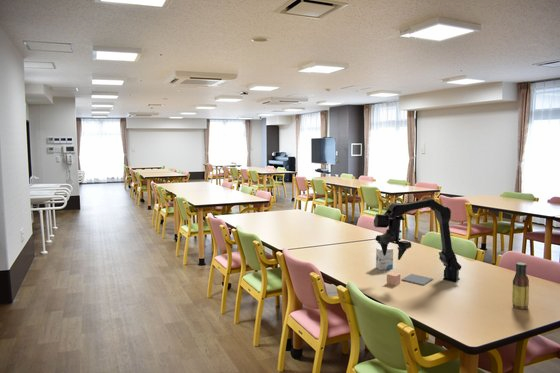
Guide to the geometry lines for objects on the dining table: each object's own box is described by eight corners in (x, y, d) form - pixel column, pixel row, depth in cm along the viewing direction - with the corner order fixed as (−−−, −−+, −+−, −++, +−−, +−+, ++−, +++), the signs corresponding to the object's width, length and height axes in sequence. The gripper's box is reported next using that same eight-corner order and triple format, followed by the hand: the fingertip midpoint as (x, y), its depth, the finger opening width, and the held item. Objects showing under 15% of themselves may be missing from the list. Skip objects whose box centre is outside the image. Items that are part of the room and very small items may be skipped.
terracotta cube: (400, 283, 212) (400, 273, 212) (395, 285, 209) (395, 276, 208) (391, 281, 216) (391, 271, 215) (386, 283, 212) (386, 274, 212)
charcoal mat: (433, 279, 217) (433, 278, 217) (423, 285, 209) (423, 284, 209) (411, 274, 225) (411, 273, 225) (401, 280, 217) (401, 279, 217)
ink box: (388, 266, 241) (389, 246, 240) (393, 268, 236) (393, 248, 235) (375, 267, 239) (375, 247, 238) (379, 270, 234) (380, 250, 233)
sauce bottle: (522, 304, 184) (525, 261, 181) (531, 310, 177) (534, 265, 175) (508, 304, 183) (510, 261, 181) (516, 310, 177) (519, 265, 175)
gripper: (369, 225, 214) (367, 254, 215) (399, 233, 199) (396, 264, 200) (383, 224, 220) (381, 252, 222) (413, 231, 206) (410, 261, 207)
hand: (391, 257), depth 213 cm, fingers open, 9 cm apart
